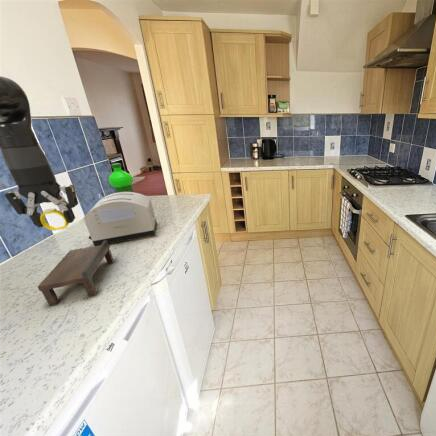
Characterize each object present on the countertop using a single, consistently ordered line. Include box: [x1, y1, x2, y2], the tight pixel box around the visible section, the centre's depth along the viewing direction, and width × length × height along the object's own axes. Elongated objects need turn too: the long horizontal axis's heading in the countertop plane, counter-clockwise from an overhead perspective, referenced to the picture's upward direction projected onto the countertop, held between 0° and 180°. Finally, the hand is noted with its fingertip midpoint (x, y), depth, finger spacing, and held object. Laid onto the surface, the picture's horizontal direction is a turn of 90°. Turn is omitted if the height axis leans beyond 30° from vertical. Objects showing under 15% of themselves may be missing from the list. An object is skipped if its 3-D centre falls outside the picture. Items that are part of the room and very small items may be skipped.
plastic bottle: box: [108, 162, 135, 193], centre depth 130 cm, size 10×10×25 cm
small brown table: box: [37, 240, 115, 307], centre depth 75 cm, size 11×20×8 cm, turn 21°
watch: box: [40, 207, 70, 232], centre depth 68 cm, size 6×3×6 cm, turn 103°
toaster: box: [83, 192, 158, 246], centre depth 105 cm, size 23×25×17 cm
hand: (56, 223), depth 68 cm, fingers closed on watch, 6 cm apart
